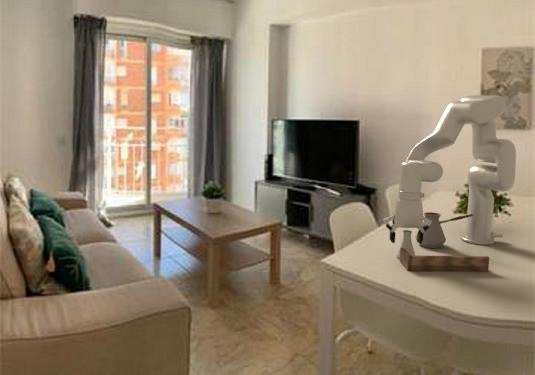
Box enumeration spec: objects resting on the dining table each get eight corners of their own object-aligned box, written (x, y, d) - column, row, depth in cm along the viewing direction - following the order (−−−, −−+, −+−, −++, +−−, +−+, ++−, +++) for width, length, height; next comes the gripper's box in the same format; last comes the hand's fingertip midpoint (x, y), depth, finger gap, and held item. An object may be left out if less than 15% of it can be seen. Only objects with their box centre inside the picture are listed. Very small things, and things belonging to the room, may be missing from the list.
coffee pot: (410, 246, 186) (413, 209, 184) (420, 239, 195) (423, 204, 193) (467, 256, 174) (470, 217, 171) (475, 249, 183) (478, 211, 180)
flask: (416, 255, 175) (418, 229, 173) (415, 261, 168) (417, 234, 166) (396, 253, 177) (397, 227, 175) (394, 259, 170) (396, 232, 168)
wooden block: (475, 261, 168) (476, 248, 167) (488, 271, 158) (489, 257, 157) (399, 261, 168) (400, 247, 167) (407, 270, 158) (408, 256, 157)
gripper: (430, 195, 172) (426, 240, 175) (382, 193, 172) (379, 239, 175) (437, 198, 165) (433, 246, 167) (387, 197, 165) (384, 244, 167)
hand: (405, 242), depth 171 cm, fingers open, 9 cm apart
